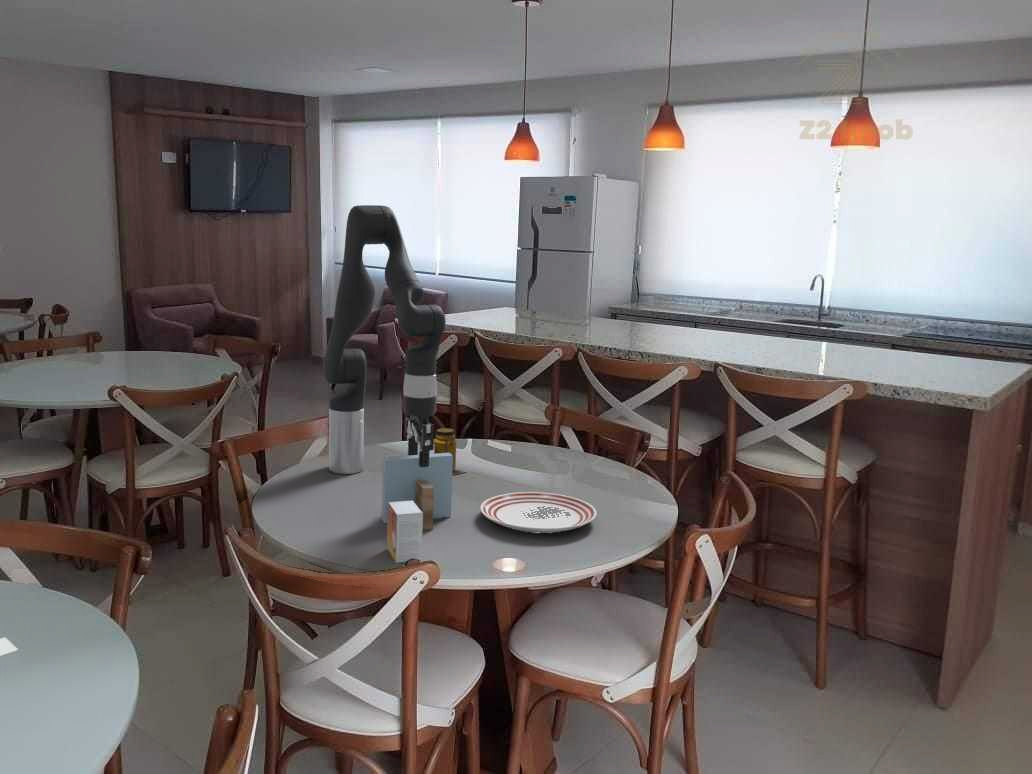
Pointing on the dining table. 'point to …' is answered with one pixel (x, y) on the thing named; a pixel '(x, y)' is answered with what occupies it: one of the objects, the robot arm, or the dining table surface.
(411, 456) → the light blue square panel
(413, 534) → the small box
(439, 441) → the condiment
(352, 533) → the dining table surface
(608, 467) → the dining table surface
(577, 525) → the dinner plate
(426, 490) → the walnut block
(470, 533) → the dining table surface
